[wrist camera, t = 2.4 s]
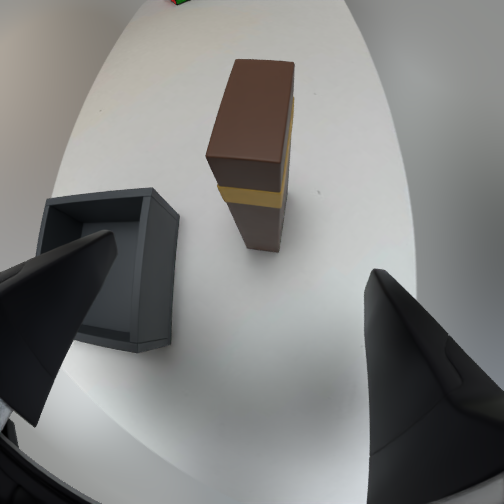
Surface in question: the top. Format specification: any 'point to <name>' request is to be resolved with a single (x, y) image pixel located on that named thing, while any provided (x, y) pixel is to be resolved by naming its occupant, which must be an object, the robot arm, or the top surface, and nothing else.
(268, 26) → the top surface
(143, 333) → the waste bin
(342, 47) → the top surface
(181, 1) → the rubik's cube
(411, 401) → the robot arm
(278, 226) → the chocolate bar
